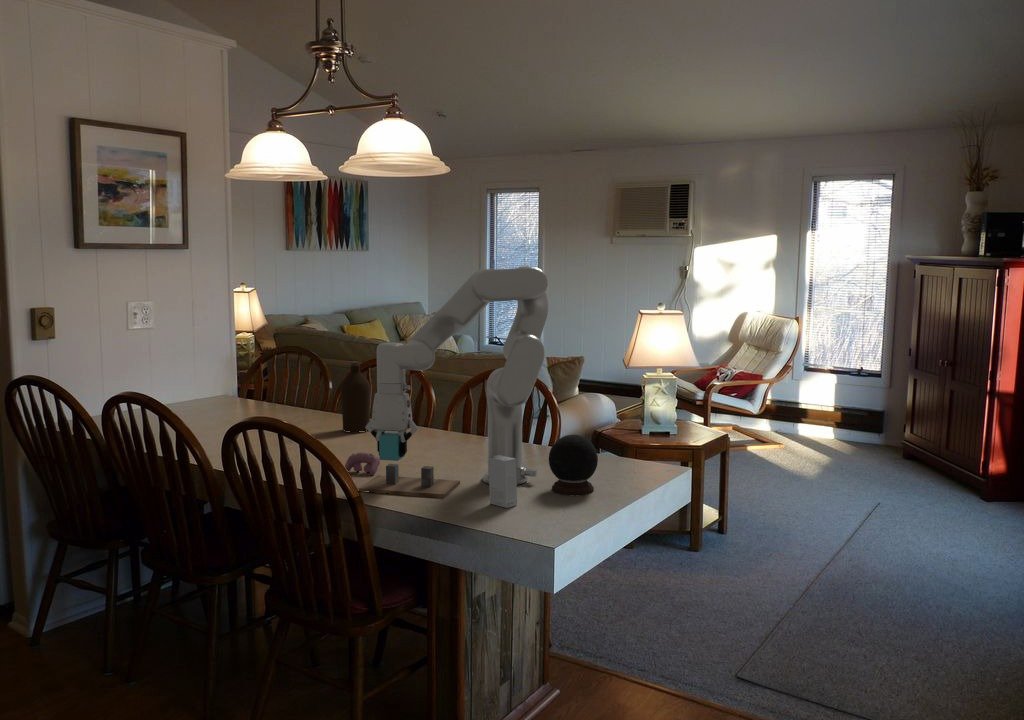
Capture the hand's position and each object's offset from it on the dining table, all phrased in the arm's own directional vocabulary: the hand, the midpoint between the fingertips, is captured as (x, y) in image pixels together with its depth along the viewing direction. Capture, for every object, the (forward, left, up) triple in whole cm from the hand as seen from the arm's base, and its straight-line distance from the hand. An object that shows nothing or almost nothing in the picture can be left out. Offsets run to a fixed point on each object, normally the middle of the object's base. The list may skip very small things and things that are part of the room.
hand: (392, 454), depth 227 cm
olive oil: (+40, -68, -9) cm, 79 cm away
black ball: (-48, -9, -9) cm, 50 cm away
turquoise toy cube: (0, 0, -1) cm, 1 cm away
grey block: (0, 0, -9) cm, 9 cm away
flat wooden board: (-5, 0, -9) cm, 10 cm away
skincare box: (-33, +9, -9) cm, 35 cm away
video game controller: (+14, -12, -9) cm, 21 cm away
